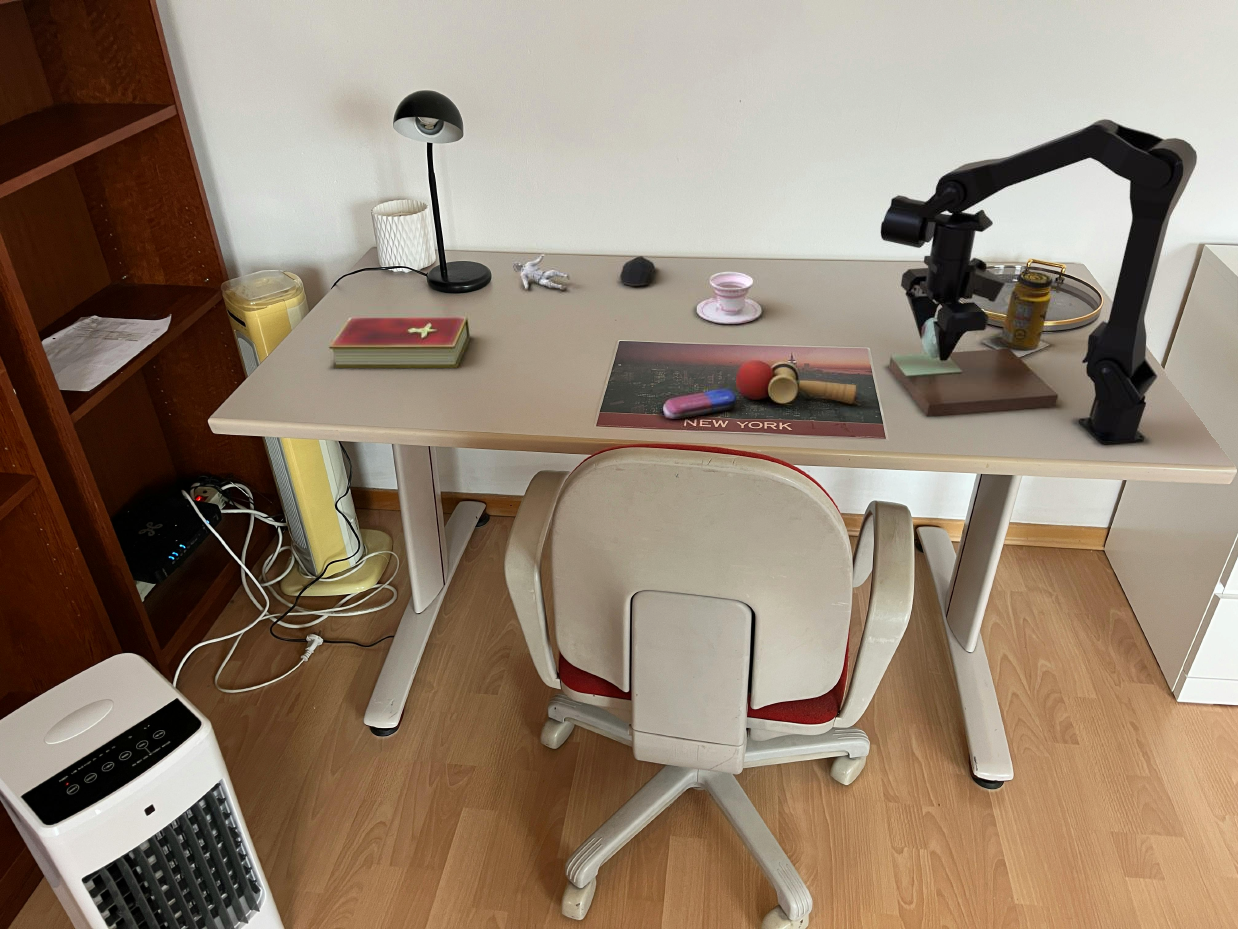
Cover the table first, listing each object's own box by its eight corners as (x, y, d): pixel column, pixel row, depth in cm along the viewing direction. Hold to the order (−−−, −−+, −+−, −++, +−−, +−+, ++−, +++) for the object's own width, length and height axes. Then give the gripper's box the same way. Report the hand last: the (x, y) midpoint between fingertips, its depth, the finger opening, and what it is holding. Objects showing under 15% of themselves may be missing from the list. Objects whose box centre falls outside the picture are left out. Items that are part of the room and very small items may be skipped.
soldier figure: (554, 301, 177) (501, 275, 179) (558, 308, 182) (506, 283, 184) (572, 266, 178) (519, 241, 180) (576, 275, 183) (524, 250, 184)
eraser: (668, 422, 136) (668, 412, 135) (660, 409, 139) (659, 398, 138) (739, 409, 138) (739, 398, 137) (729, 396, 141) (729, 386, 140)
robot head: (947, 370, 141) (954, 330, 137) (919, 368, 141) (926, 328, 138) (941, 348, 147) (948, 309, 144) (915, 346, 148) (921, 307, 144)
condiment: (1049, 345, 154) (1067, 278, 148) (1017, 358, 150) (1034, 290, 144) (1012, 330, 159) (1028, 265, 153) (981, 343, 155) (995, 276, 149)
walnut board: (1055, 406, 137) (1058, 393, 136) (926, 416, 135) (929, 403, 134) (1006, 359, 150) (1009, 347, 149) (888, 367, 149) (890, 355, 147)
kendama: (847, 395, 144) (735, 375, 145) (858, 364, 139) (742, 343, 140) (848, 427, 138) (730, 406, 139) (859, 396, 134) (738, 374, 135)
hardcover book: (353, 337, 163) (349, 315, 161) (469, 336, 162) (467, 314, 160) (333, 367, 153) (328, 345, 151) (457, 367, 152) (454, 344, 150)
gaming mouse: (660, 262, 191) (660, 243, 188) (649, 289, 179) (649, 270, 176) (630, 260, 192) (630, 242, 190) (617, 287, 180) (617, 268, 177)
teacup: (773, 318, 166) (776, 286, 162) (714, 329, 162) (715, 297, 159) (742, 294, 175) (744, 264, 172) (685, 305, 172) (686, 274, 168)
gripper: (1033, 273, 127) (1010, 372, 136) (975, 229, 143) (958, 321, 151) (956, 278, 126) (938, 378, 135) (907, 234, 142) (893, 326, 151)
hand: (933, 349), depth 143 cm, fingers closed on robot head, 7 cm apart
